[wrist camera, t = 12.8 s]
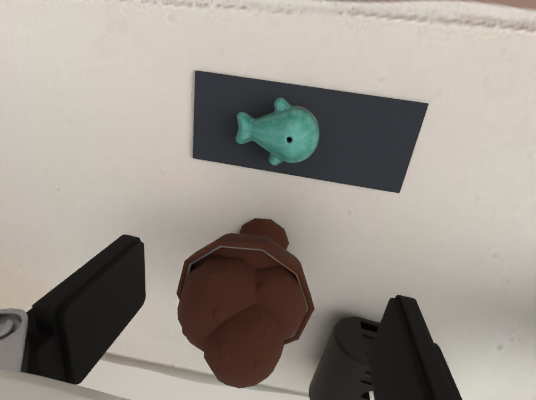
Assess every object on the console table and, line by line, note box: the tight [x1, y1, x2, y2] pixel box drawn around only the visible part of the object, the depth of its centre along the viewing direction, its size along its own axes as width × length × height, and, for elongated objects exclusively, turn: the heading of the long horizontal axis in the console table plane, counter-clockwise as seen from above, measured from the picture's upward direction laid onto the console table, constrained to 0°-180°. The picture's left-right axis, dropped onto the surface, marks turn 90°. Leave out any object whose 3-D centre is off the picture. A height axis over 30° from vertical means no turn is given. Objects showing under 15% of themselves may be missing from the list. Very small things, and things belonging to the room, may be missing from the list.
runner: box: [193, 71, 428, 193], centre depth 27 cm, size 20×8×1 cm, turn 83°
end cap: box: [309, 317, 380, 400], centre depth 33 cm, size 10×7×7 cm
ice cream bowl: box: [177, 218, 314, 388], centre depth 26 cm, size 11×11×15 cm
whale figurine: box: [236, 98, 319, 165], centre depth 26 cm, size 6×7×4 cm
